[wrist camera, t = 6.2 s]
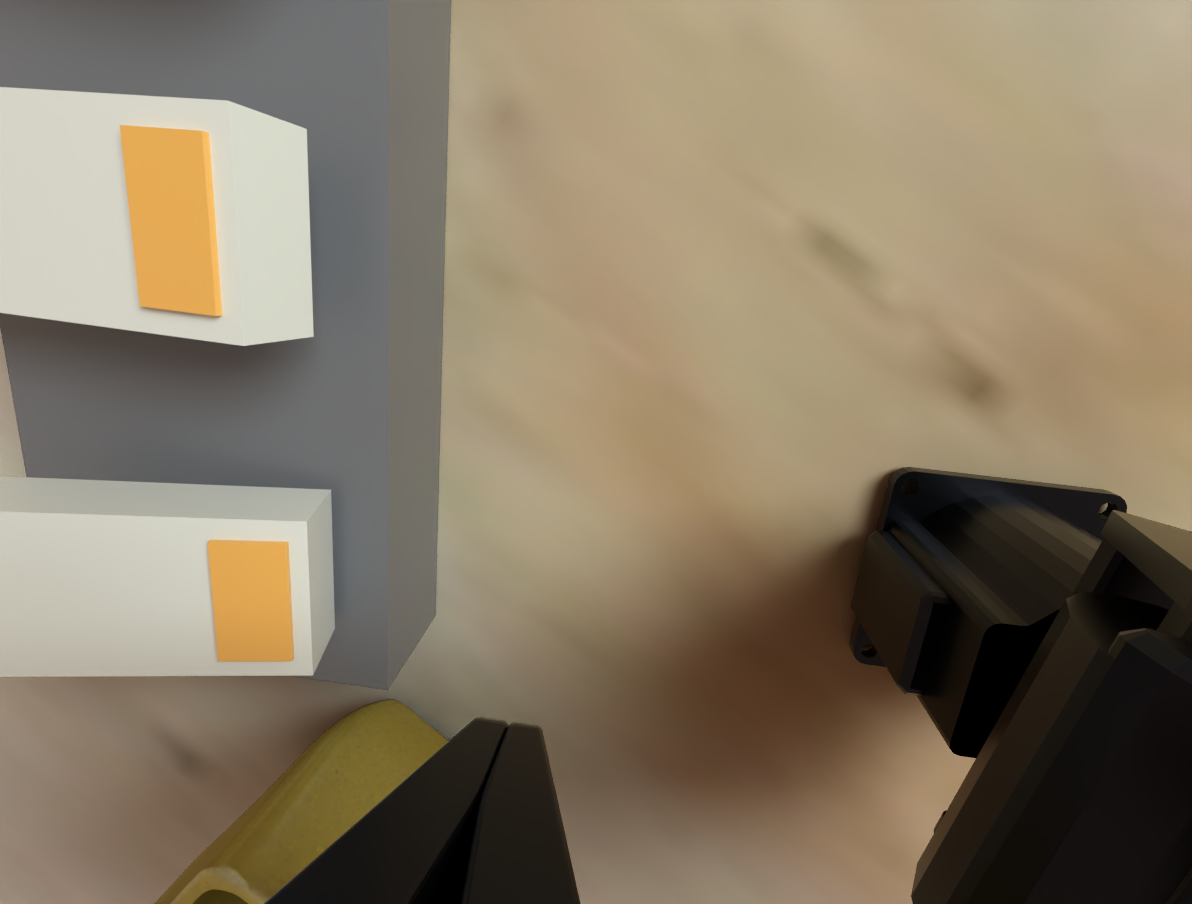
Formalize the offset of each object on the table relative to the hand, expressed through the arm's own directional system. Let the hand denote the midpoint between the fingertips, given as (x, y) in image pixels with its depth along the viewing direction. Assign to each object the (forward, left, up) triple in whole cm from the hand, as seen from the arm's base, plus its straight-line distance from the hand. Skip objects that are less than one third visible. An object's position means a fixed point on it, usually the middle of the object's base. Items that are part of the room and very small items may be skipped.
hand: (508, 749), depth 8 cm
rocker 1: (+10, -6, -6) cm, 13 cm away
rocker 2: (+10, +2, -6) cm, 12 cm away
